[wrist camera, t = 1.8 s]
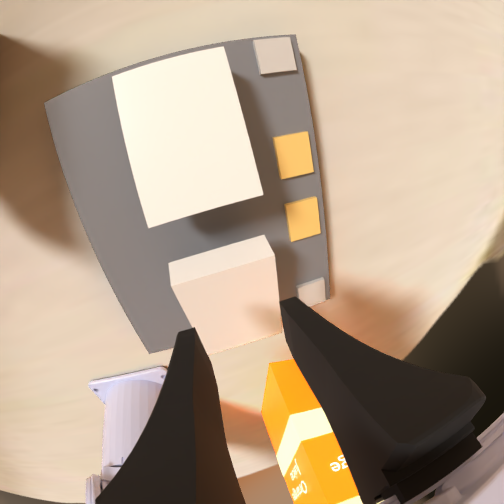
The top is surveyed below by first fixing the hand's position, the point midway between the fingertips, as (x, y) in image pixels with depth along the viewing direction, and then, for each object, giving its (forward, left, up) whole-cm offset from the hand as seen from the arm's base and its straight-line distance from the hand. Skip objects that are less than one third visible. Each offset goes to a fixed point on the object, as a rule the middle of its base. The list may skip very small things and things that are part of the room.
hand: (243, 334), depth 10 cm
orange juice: (-19, -4, -10) cm, 22 cm away
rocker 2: (-2, 0, -6) cm, 7 cm away
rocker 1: (+7, 0, -6) cm, 9 cm away
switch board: (+2, 0, -9) cm, 10 cm away
